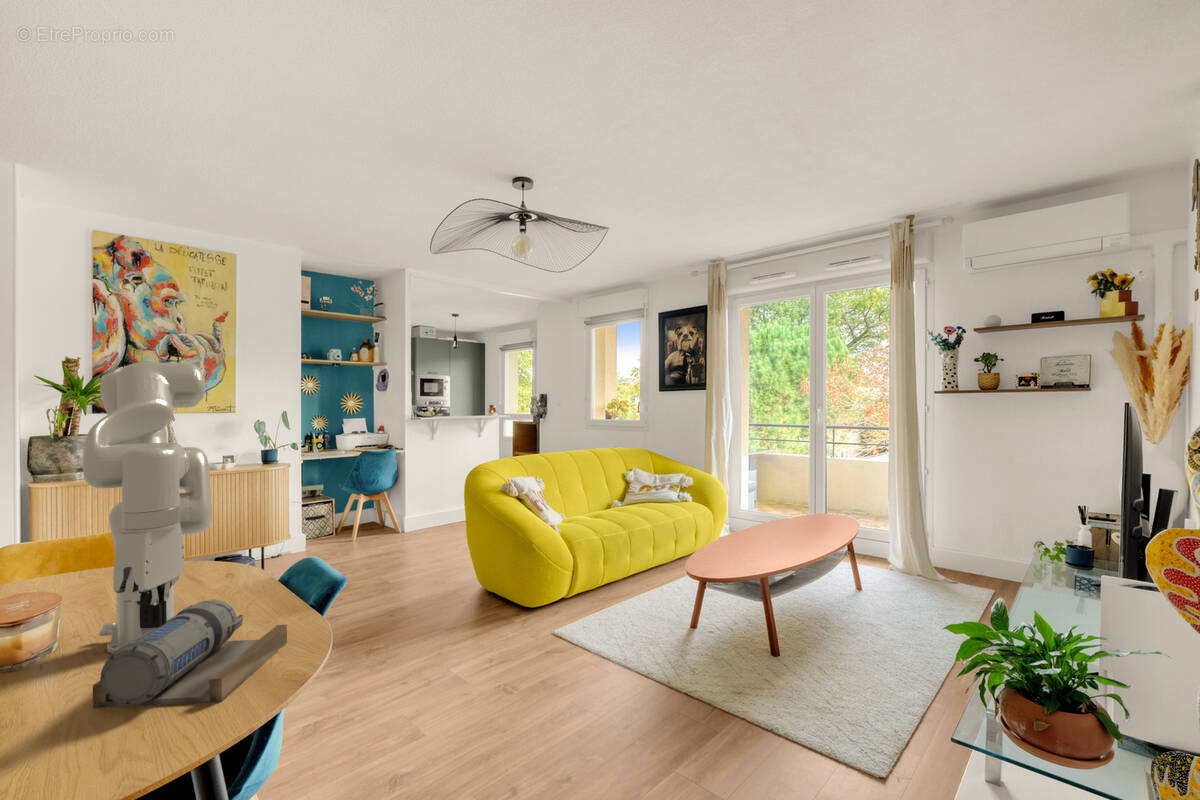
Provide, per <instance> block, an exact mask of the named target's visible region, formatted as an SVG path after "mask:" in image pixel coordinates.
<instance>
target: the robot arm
mask: <svg viewBox="0 0 1200 800" xmlns="http://www.w3.org/2000/svg"><path fill="white" fill-rule="evenodd" d="M99 385H100V386H99V392H100V397H101V401H102V404H103V408H104V410H105V412H106V415H105V416H103V417H102V418H100V419H99V420H98V421H97V422H95V424H93V425H92V427H91V428H90V429H89V431H88V432H87V434H86V437H85V438H84V439H85V440H84V442H83V443H84V444H83V455H82V457H83V458H82V473H83V477H84V480H85V482H86V483H87V484H88V485H89V486H91V487H93V488H95V489H103V490H104V489H115V488H121V501H120V502H118V503H117V504H116V505H115V504H114V506H113V508H112V509H111V511H110V512H109V513H110V514H109V527H110V532H111V536H112V541H113V547H114V560H113V561H114V562H113V563H114V564H113V575H112V576H113V577H112V578H113V581H112V582H113V583H112V585H113V591H114V593H115V594H116V622H107V623H105V624H103V625H102V629H101V630H100V631H99V636H103V637H104V636H105V637H107V636H111V640H110V641H109V642H108V643H107V646H106V647H107V648H106V650H107V652H108V653H110V654H113V653H114V652H115V651H117V650H118V649H120V648H121V647H123V646H125V645H126V644H128V643H130V642H131V641H133V640H135V639H137V638H138V637H140V636H142V635H143V634H145V633H147V632H148V631H150V630H152V629H154V628H159V627H160V626H162V625H164V624H166V622H167V620H169V619H170V618H172V617H174V616H175V588H174V587H175V585H174V584H175V583H177V582H178V581H179V580H180V576H181V574H183V572H184V571H185V570H184V569H185V545H184V538H183V537H184V536H186V535H187V536H189V535H193V534H198V533H203V532H205V531H206V530H208V529H209V528H210V526H211V524H212V521H213V520H212V519H213V503H212V502H213V501H212V489H211V478H210V477H211V476H210V466H209V461H208V457H207V455H206V453H205V452H204V450H202V449H200V448H198V447H193V446H191V447H190V446H185V447H184V446H182V445H180V444H179V443H176V442H168V441H167V439H168V437H167V436H168V435H167V428H166V427H168V426H169V425H170V424H171V422H172V421H173V419H174V408H177V409H178V408H182V409H183V408H192V407H196V406H197V405H198V404H199V403H200V402H201V401H202V400H203V398H204V396H205V395H206V394H205V393H206V386H207V385H206V379H205V375H204V373H203V371H202V370H201V369H200V368H199V367H198V366H196V365H195V364H193V363H186V362H185V363H183V362H182V363H181V362H149V361H148V362H147V361H146V362H143V361H142V362H135V363H130V364H128V365H125V366H124V367H122V368H121V369H120V370H119V371H115V372H111V373H108V374H106V375H104V376H103V377H102V378H101V380H100V383H99ZM181 490H184V491H185V492H180V491H181Z"/></svg>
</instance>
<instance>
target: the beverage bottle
mask: <svg viewBox="0 0 1200 800" xmlns="http://www.w3.org/2000/svg"><path fill="white" fill-rule="evenodd" d="M243 621H244V615H243V614H239V615H238V616H237V613H236V612H235V610H234V607H232V605H230V604H229V603H228V602H226V601H224V600H221V599H211V600H203V601H200V602H197V603H195V604H191V605H189V606H187V607H185V608H184V609H182V610H180V611H178V613H177V614H176V615H174V617H172V618H170V619H169V620H167V622H166V624H164V625H162V626H160V627H159V628H154V629H152V630H150V631H148V632H147V633H145V634H143V635H142V636H140V637H138V638H137V639H135V640H133V641H131V642H130V643H128V644H126V645H125V646H123V647H121V648H120V649H118V650H117V651H115V652H114V653H111V654H110V655H109V656H108V657H107V659H106V661H105V662H104V665H103V667H102V669H101V673H100V678H99V679H100V680H99V681H100V682H101V686H102V689H103V691H104V692H105V694H106V695H109V698H110V699H111V700H113V701H115V702H117V703H121V704H139V703H143V702H146V701H148V700H150V699H152V698H153V697H155V696H156V695H157V694H159V693H160V692H161V691H163V690H164V689H165V688H166V687H168V686H169V685H170V684H172V683H173V682H174V681H176V680H177V679H178V678H179V677H181V676H182V675H183V674H185V673H186V672H187V671H189V670H190V669H191V668H193V667H194V666H195V665H196V664H198V663H199V662H200V661H202V660H203V659H204V658H205V657H206V656H207V655H209V654H210V653H212V652H213V651H215V650H216V649H217V648H218V647H220V646H221V645H222V644H224V643H225V642H226V641H229V639H230V638H231V636H232V635H233V634H234V632H235V631H236V630H238V629H239V628H241V626H243Z"/></svg>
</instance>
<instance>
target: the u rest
mask: <svg viewBox="0 0 1200 800" xmlns="http://www.w3.org/2000/svg"><path fill="white" fill-rule="evenodd" d="M287 626H288V624H276V625H275V626H274V627H273V628H272V629H270V630H269V631H268V632H266V633H265V634H264V635H263V636H261V637H260V638H259V639H246V640H243V639H242V640H227V641H226V642H225V643H224V644H222V645H221V646H220V647H218V648H217V649H216V650H215V651H213V652H212V653H210V654H209V655H207V656H206V657H205V658H204V659H203V660H202V661H200V662H199V663H198V664H196V665H195V666H194V667H193V668H191V669H190V670H189V671H187V672H186V673H185V674H183V675H182V676H181V677H179V678H178V679H177V680H176V681H174V682H173V683H172V684H170V685H169V686H168V687H166V688H165V689H164V690H163V691H161V692H160V693H159V694H157V695H156V696H155V697H153V698H152V699H150V700H148V701H146V702H143V703H139V704H121V703H117V702H115V701H113V700H111V699H110V698H109V695H106V694H105V692H104V691H103V689H102V686H101V682H100V680H99V681H97V682H96V683H95V682H94V684H92V709H102V708H103V709H105V708H106V709H107V708H121V707H124V708H125V707H126V708H127V707H140V706H141V707H142V706H143V707H144V706H160V705H162V706H163V705H180V704H181V705H182V704H201V703H203V704H204V703H216V702H217V703H219V702H220V703H221V702H223V701H225V700H226V699H227V698H228V697H229V695H231V694H232V693H233V692H234V691H235V690H237V689H238V687H240V686H241V685H242V684H243V683H244V682H245V681H246V680H248V679H249V678H250V677H251V676H253V674H254V673H255V672H257V671H258V670H259V669H260V668H261V667H262V666H263V665H264V664H265V663H266V661H267V660H268V659H269V660H270V659H271V658H272V657H273V656H274V655H275V654H277V653H278V652H279V651H280V650H281V649H282V648H283V647H284V646H286V643H288V627H287ZM280 648H281V649H280ZM279 649H280V650H279ZM276 652H277V653H276ZM269 660H268V661H269ZM268 661H267V662H268ZM261 665H262V666H261ZM260 666H261V667H260ZM259 667H260V668H259ZM258 668H259V669H258ZM257 669H258V670H257ZM256 670H257V671H256Z"/></svg>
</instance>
